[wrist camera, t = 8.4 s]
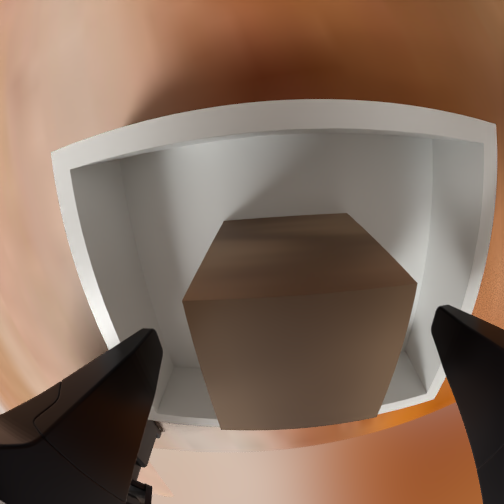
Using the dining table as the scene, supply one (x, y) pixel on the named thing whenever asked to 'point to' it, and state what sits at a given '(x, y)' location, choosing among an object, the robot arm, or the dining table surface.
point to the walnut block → (297, 321)
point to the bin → (275, 215)
